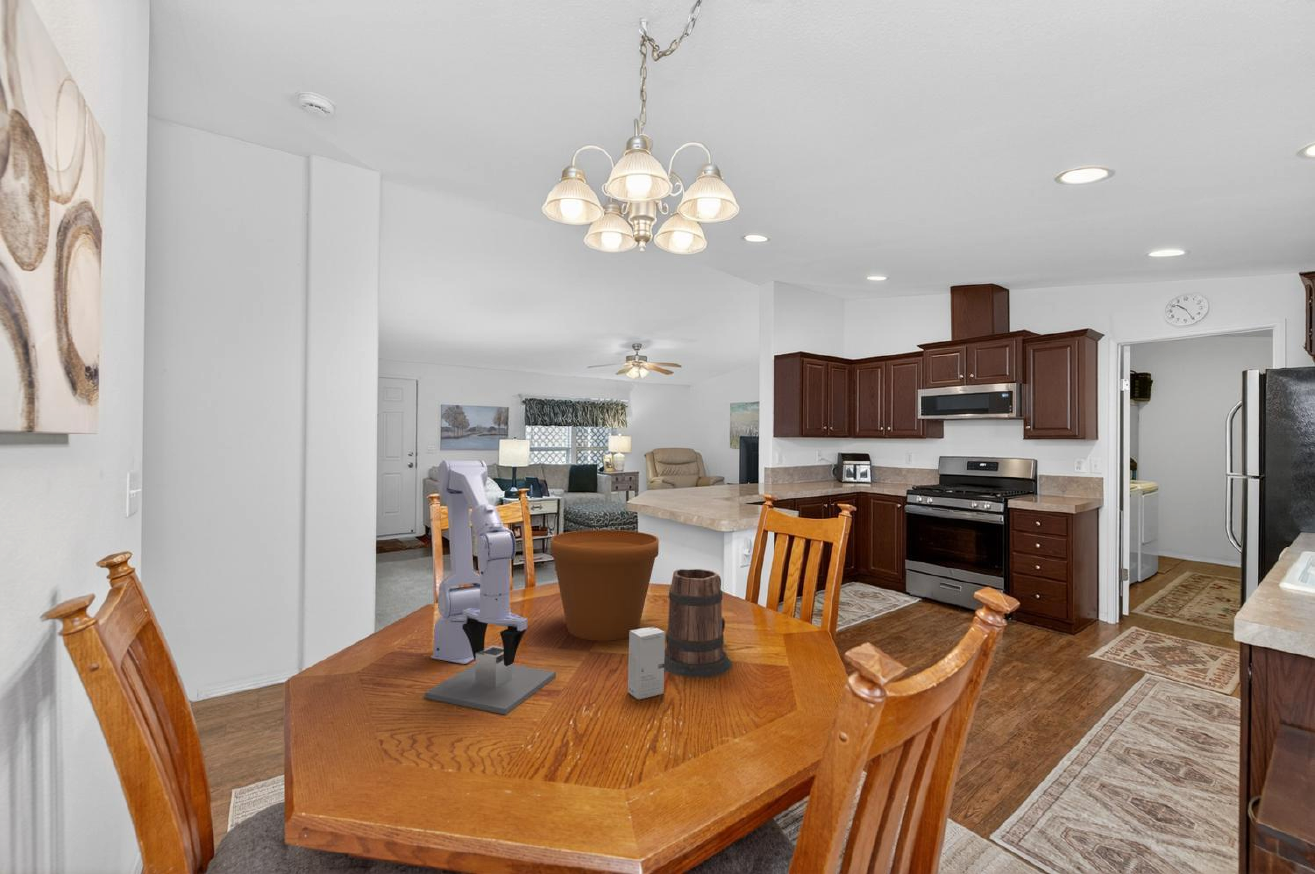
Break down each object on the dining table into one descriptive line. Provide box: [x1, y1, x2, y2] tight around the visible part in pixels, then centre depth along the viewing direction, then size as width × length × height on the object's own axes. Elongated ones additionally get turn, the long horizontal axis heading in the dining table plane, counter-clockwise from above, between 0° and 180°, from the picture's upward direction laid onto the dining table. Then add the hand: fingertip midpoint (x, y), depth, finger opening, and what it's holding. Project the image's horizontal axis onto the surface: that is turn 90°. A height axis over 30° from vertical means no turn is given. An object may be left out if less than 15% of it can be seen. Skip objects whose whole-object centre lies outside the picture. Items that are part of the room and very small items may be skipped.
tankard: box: [664, 568, 733, 679], centre depth 134 cm, size 24×17×20 cm
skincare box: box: [627, 626, 666, 700], centre depth 115 cm, size 6×4×12 cm
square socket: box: [475, 644, 513, 689], centre depth 117 cm, size 5×5×6 cm
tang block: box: [423, 663, 557, 716], centre depth 117 cm, size 18×18×4 cm
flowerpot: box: [549, 529, 660, 641], centre depth 154 cm, size 28×28×24 cm
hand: (493, 660), depth 117 cm, fingers open, 7 cm apart
